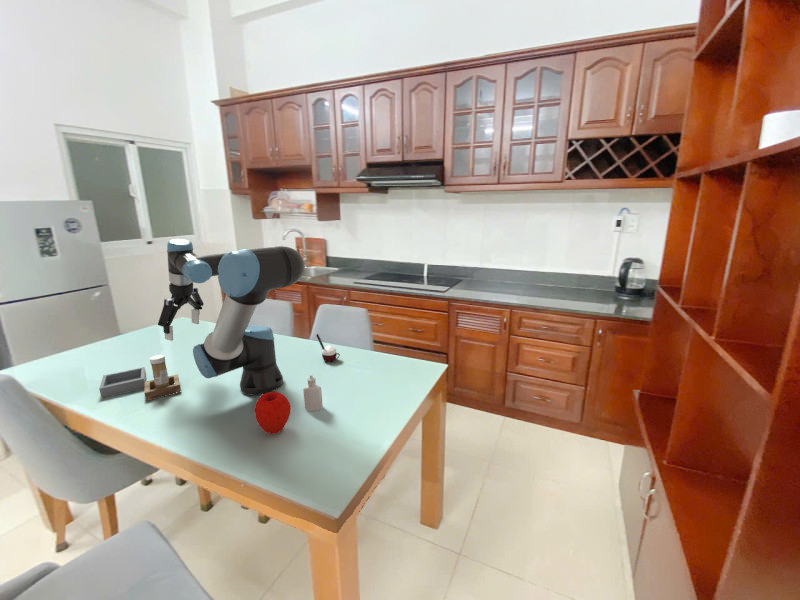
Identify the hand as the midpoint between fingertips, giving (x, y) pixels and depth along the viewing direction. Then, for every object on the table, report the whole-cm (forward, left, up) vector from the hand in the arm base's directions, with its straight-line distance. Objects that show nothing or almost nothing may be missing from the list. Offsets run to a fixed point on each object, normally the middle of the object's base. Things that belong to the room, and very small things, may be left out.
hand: (182, 331), depth 137 cm
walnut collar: (-7, +9, -20) cm, 23 cm away
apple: (-57, -18, -20) cm, 63 cm away
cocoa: (-18, -52, -20) cm, 58 cm away
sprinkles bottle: (-7, +9, -20) cm, 23 cm away
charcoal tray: (+6, +21, -20) cm, 30 cm away
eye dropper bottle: (-52, -32, -20) cm, 64 cm away
